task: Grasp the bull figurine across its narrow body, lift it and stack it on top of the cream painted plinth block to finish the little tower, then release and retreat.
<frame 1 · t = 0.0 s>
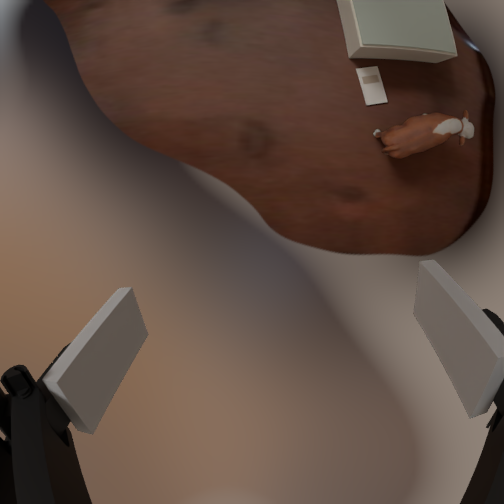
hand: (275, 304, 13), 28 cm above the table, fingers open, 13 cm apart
instruction page: (371, 85, 33), on the table
bull figurine: (410, 131, 35), on the table
plinth: (389, 29, 29), on the table
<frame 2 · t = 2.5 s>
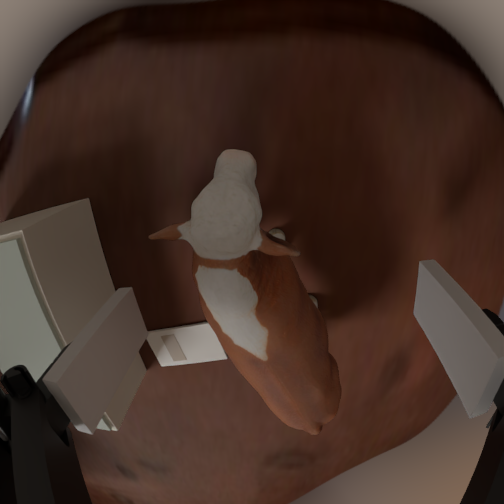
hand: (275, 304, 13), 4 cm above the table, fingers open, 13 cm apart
instruction page: (185, 344, 20), on the table
bull figurine: (271, 266, 17), on the table
plinth: (67, 297, 19), on the table
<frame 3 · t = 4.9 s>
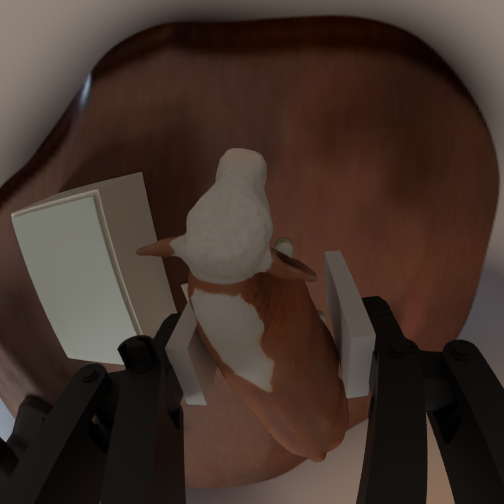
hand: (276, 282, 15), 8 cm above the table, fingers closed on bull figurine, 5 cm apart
bull figurine: (276, 277, 16), point 7 cm above the table, touching gripper
plinth: (114, 257, 24), on the table
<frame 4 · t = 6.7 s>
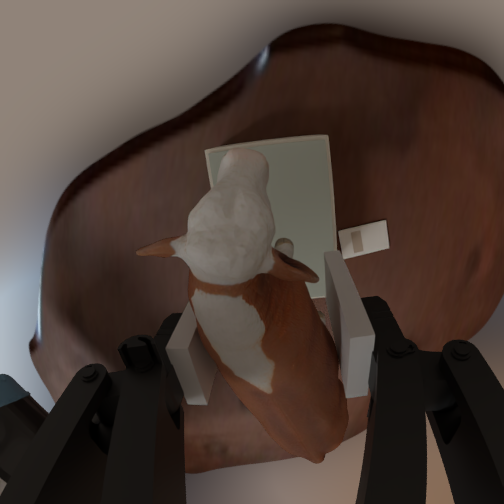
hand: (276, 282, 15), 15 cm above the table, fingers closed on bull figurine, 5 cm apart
instruction page: (364, 239, 29), on the table
bull figurine: (276, 278, 16), point 15 cm above the table, touching gripper
plinth: (277, 207, 29), on the table
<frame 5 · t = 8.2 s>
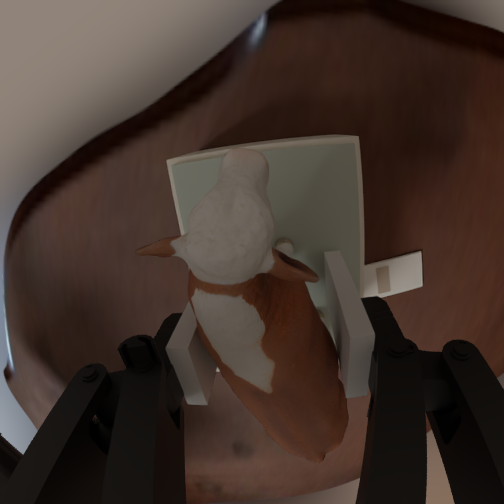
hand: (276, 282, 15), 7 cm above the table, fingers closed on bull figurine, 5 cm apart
instruction page: (392, 276, 22), on the table
bull figurine: (276, 277, 16), point 6 cm above the table, touching gripper
plinth: (278, 236, 21), on the table
when the fingers open (7 cm above the table, at t = 8.7 s): bull figurine stays where it is, resting on plinth.
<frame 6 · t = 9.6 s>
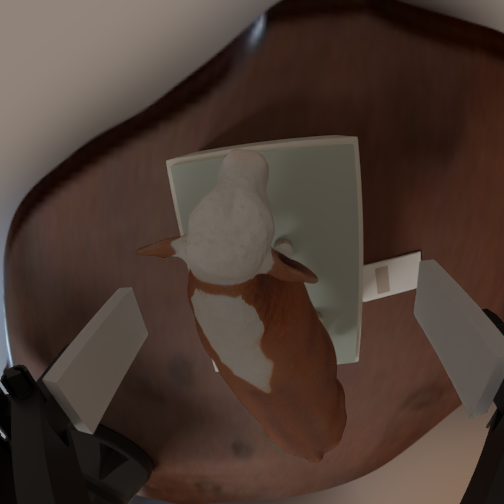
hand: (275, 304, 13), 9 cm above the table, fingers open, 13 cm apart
instruction page: (391, 276, 22), on the table
bull figurine: (275, 278, 16), point 6 cm above the table, touching plinth
plinth: (277, 236, 21), on the table
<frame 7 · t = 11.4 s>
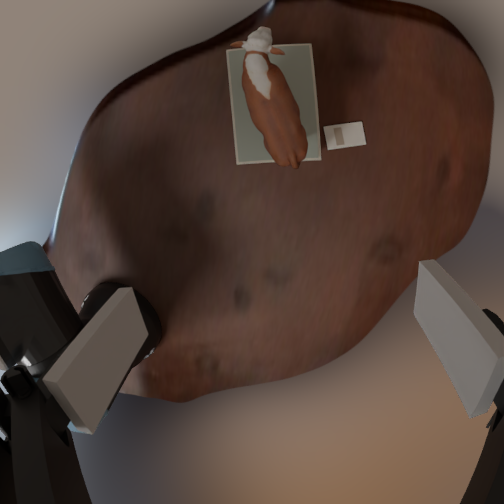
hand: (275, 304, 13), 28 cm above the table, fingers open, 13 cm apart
instruction page: (344, 135, 35), on the table
bull figurine: (273, 102, 29), point 6 cm above the table, touching plinth
plinth: (275, 106, 35), on the table
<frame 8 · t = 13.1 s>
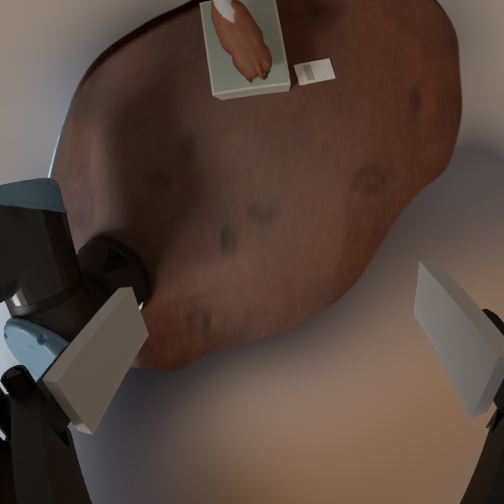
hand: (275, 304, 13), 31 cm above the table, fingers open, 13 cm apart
instruction page: (314, 71, 35), on the table
bull figurine: (242, 39, 29), point 6 cm above the table, touching plinth
plinth: (248, 51, 35), on the table
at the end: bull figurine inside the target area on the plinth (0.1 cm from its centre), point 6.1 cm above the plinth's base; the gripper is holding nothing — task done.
